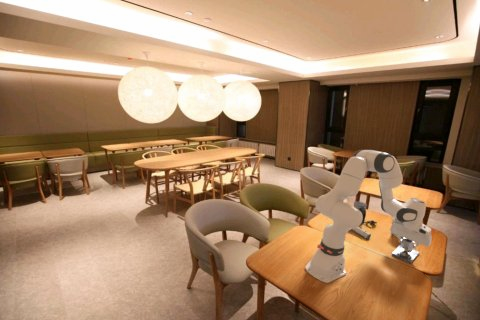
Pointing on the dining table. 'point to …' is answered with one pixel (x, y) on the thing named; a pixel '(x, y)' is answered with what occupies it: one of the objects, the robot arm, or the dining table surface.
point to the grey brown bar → (362, 232)
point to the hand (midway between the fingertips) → (407, 245)
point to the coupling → (407, 244)
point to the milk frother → (363, 211)
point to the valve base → (407, 257)
